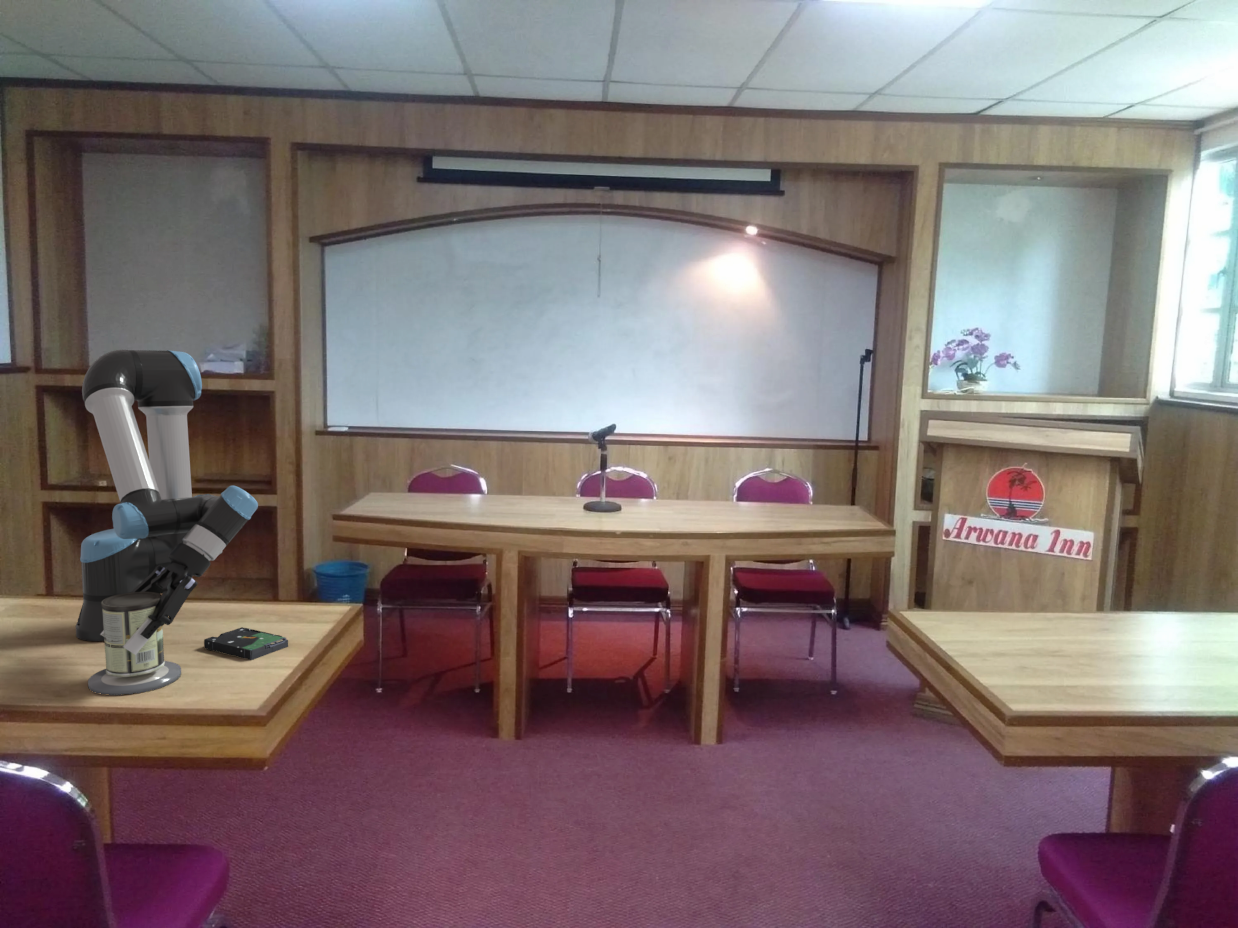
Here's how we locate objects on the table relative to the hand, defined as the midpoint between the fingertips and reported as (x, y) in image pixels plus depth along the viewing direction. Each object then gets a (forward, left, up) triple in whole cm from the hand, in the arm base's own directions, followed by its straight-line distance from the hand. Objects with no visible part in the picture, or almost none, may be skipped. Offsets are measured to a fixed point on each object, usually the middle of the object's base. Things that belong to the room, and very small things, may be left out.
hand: (117, 644), depth 165 cm
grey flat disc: (+2, +3, -8) cm, 8 cm away
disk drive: (+12, +24, -9) cm, 28 cm away
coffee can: (+2, +3, -6) cm, 6 cm away
